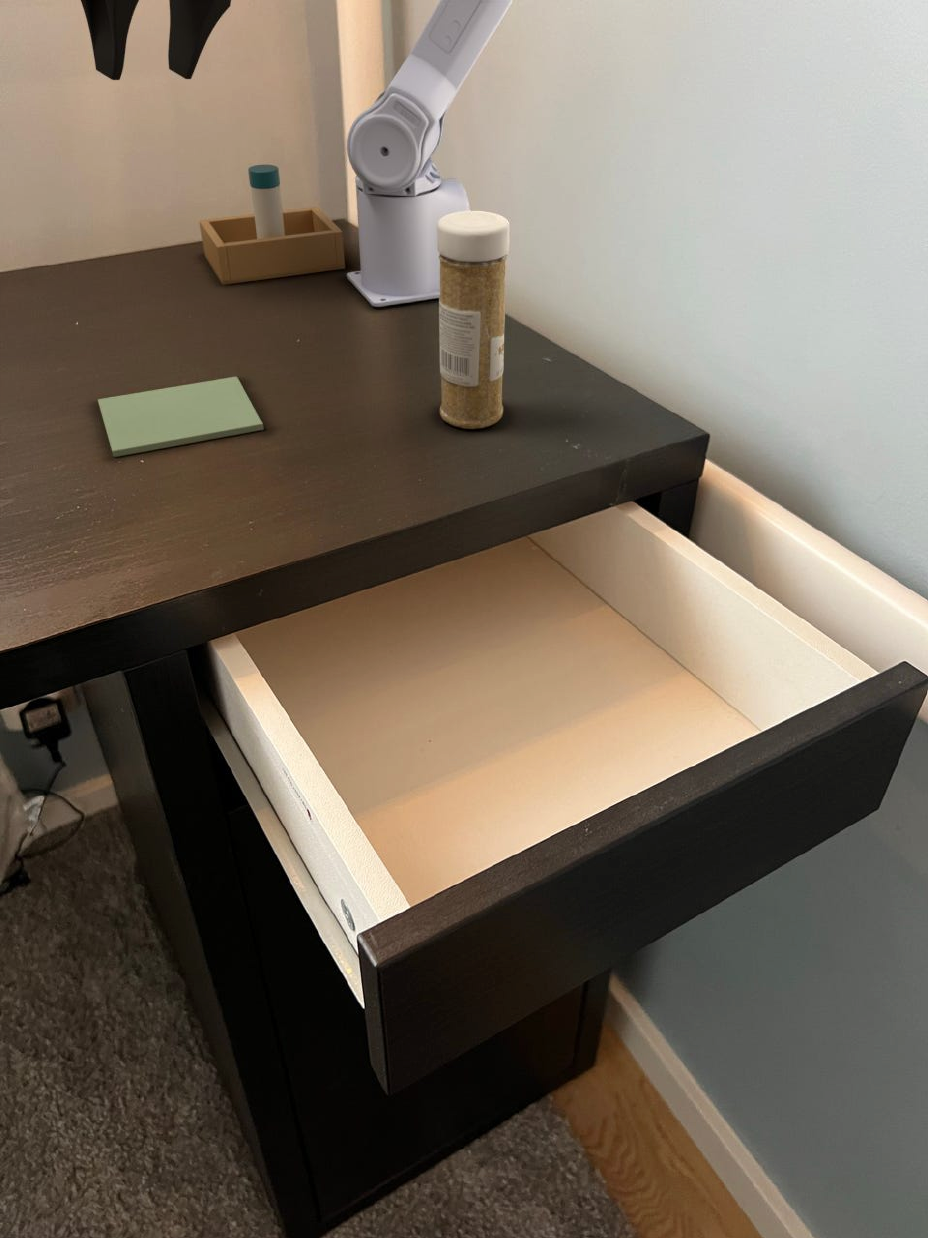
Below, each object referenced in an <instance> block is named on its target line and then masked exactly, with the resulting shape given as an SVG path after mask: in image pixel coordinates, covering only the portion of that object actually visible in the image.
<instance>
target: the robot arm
mask: <svg viewBox="0 0 928 1238" xmlns="http://www.w3.org/2000/svg"><path fill="white" fill-rule="evenodd" d="M168 1H169V35H168V36H169V37H168V49H167V51H168V52H167V58H168V60H167V61H168V62H167V63H168V70H170V71H172V72H173V73H175V74H176V75H178V76H180V77H182V78H183V79H185V80H192V78H193V75H194V74H195V70H196V67H197V65H198V63H199V60H200V57H201V55H202V52H203V50H204V48H205V46H206V43H207V41H208V39H209V38H210V35H211V34H212V32H213V30H214V29H215V27H216V25H217V24H218V22H219V21H220V19H221V18H222V17H223V16H224V14H225V13H226V12H227V11H228V10H229V8H231V3H232V0H168ZM139 2H140V0H80V3H81V5H82V8H83V12H84V15H85V19H86V23H87V27H88V32H89V36H90V41H91V48H92V53H93V59H94V67H95V70H96V71H97V72H99V73H100V74H102V75H103V76H105V77H106V78H108V79H110V80H111V81H120V80H121V77H122V74H123V70H124V65H125V58H126V48H127V40H128V36H129V35H128V34H129V30H130V26H131V24H132V20H133V16H134V14H135V11H136V9H137V7H138V4H139ZM513 2H514V0H439V2H438V3H437V5H436V6H435V9H434V11H433V12H432V14H431V16H430V18H429V19H428V21H427V23H426V24H425V26H424V28H423V30H422V31H421V33H420V35H419V37H418V38H417V40H416V42H415V44H414V45H413V47H412V49H411V51H410V52H409V54H408V56H407V58H406V59H405V60H404V62H403V63H402V65H401V67H400V68H399V70H398V71H397V72H396V74H395V75H394V77H393V79H392V80H391V81H390V83H389V85H387V88H386V89H384V91H383V92H381V93H380V94H379V95H378V97H377V98H376V100H375V102H374V103H373V104H372V105H371V106H370V107H369V108H367V109H365V110H363V111H362V112H361V113H359V114H358V116H357V117H356V118H355V119H354V121H353V122H352V124H351V125H350V127H349V129H348V130H349V131H348V133H347V138H346V153H347V158H348V161H349V164H350V167H351V169H352V170H353V172H354V174H355V177H354V179H355V180H354V181H355V182H354V183H355V195H356V196H355V197H356V211H357V212H356V213H357V214H356V215H357V229H358V232H357V233H358V245H359V247H358V248H359V249H358V250H359V262H360V263H359V264H360V265H359V266H360V270H357V271H350V272H347V274H346V278H347V280H348V281H349V282H350V283H351V284H352V286H354V288H355V289H357V291H358V292H359V293H360V294H361V295H362V296H363V297H364V298H365V300H366V301H367V302H368V303H369V304H370V305H371V306H372V307H375V308H382V307H388V306H394V305H402V304H408V303H415V302H420V301H422V302H423V301H428V300H435V299H439V297H440V259H439V255H440V253H439V252H438V251H437V223H438V221H439V219H440V218H442V217H443V216H445V215H447V214H451V213H455V212H461V211H471V208H470V202H469V197H468V194H467V191H466V188H465V187H464V185H463V184H462V182H461V181H460V180H459V179H457V178H453V177H447V178H446V177H445V178H442V177H441V176H442V175H441V172H439V169H438V168H437V166H436V164H435V162H434V161H433V160H432V156H433V155H434V154H435V153H436V151H437V149H438V148H439V146H440V143H441V140H442V137H443V132H444V131H443V130H444V121H445V117H446V114H447V112H448V110H449V109H450V106H451V104H452V103H453V101H454V99H455V98H456V96H457V94H458V93H459V90H460V89H461V87H462V85H463V83H464V82H465V81H466V78H467V77H468V75H469V74H470V72H471V70H472V69H473V67H474V65H476V63H477V61H478V59H479V57H480V56H481V54H482V53H483V51H484V49H485V48H486V46H487V45H488V43H489V41H490V40H491V38H492V36H493V34H494V33H495V31H496V30H497V29H498V26H499V25H500V23H501V21H502V20H503V19H504V16H505V15H506V14H507V12H508V10H509V8H510V7H511V5H512V4H513Z"/></svg>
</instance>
